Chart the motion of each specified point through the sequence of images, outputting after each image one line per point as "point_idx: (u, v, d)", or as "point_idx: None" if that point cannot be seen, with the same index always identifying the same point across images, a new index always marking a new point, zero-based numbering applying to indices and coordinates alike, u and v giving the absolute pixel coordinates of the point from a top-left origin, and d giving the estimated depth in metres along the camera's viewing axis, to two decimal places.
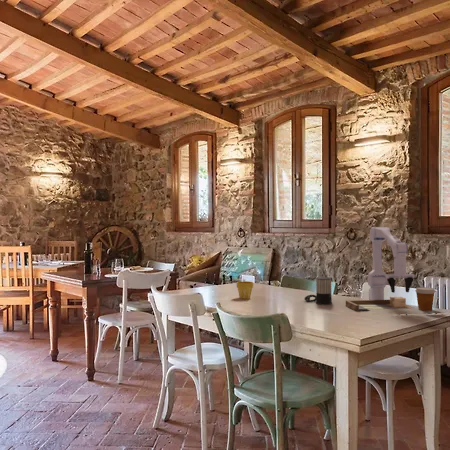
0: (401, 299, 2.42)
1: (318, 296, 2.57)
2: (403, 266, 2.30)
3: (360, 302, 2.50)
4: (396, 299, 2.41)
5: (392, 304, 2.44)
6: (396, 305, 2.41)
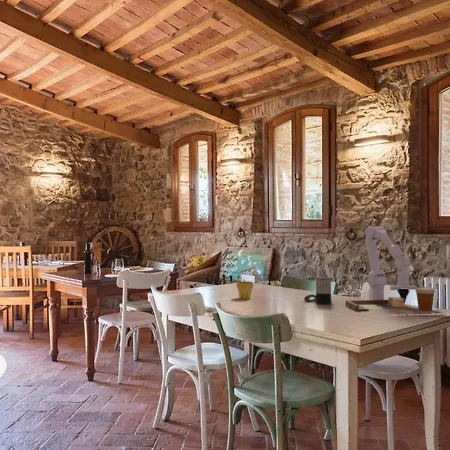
0: (399, 299, 2.41)
1: (318, 296, 2.57)
2: (406, 278, 2.42)
3: (360, 302, 2.50)
4: (394, 299, 2.41)
5: (390, 304, 2.44)
6: (394, 305, 2.41)
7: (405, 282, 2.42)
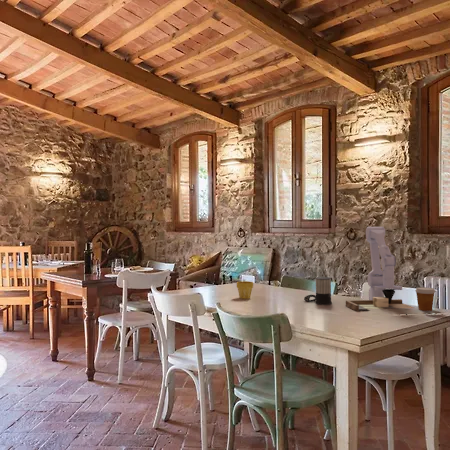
0: (384, 299, 2.41)
1: (317, 296, 2.57)
2: (391, 278, 2.41)
3: (360, 302, 2.50)
4: (379, 299, 2.41)
5: (375, 304, 2.43)
6: (379, 305, 2.40)
7: (390, 282, 2.41)
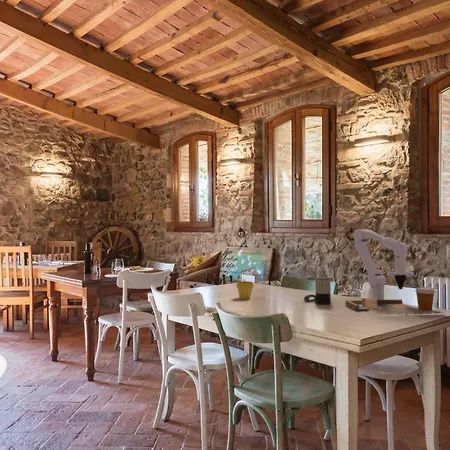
0: (372, 300, 2.40)
1: (317, 296, 2.57)
2: (403, 264, 2.47)
3: (360, 302, 2.50)
4: (367, 300, 2.40)
5: (363, 305, 2.43)
6: (367, 306, 2.40)
7: (402, 268, 2.47)
